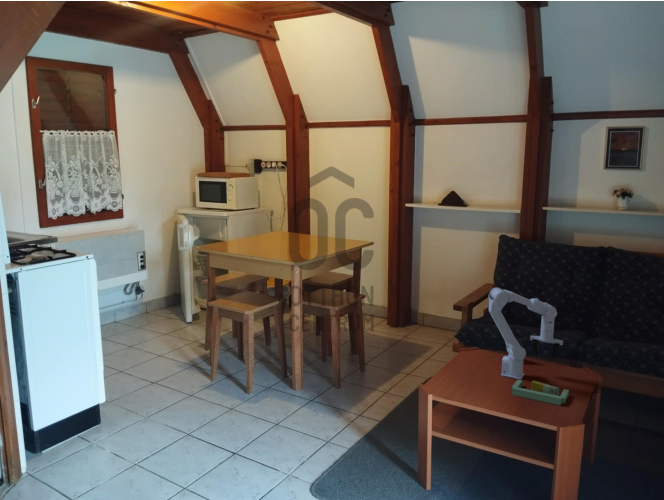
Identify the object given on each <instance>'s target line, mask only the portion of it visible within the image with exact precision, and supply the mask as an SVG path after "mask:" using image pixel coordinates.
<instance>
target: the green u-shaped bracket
mask: <svg viewBox="0 0 664 500" xmlns="http://www.w3.org/2000/svg"><path fill="white" fill-rule="evenodd" d="M522 386H523V380H522V379H517V380H515V382H514V384H513V385H512V386H511V393H512V396H515V397H519V398H520V397H521V398H525V399H529V400H533V401H538V402H542V403H548V404H552V405H553V404H554V405H557V406H562V405H565V403H566V401H567V400H568V397H569V395H570V394H569V393H570V392H569V391H570V389H565V388H564V389H563V390H562V391H561V394H560V395H559V396H556V395H552V394H547V393H542V392H537V391H534V390H531V389H527V388H524V387H522Z"/></svg>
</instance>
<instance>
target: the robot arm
mask: <svg viewBox="0 0 664 500" xmlns="http://www.w3.org/2000/svg"><path fill="white" fill-rule="evenodd" d="M487 296H488V312H489V314H490V316H491V318H492V320H493V321H494V323H495V325H496V327H497V329H498V331H499V332H500V334H501V336H502V338H503V340H504V344H505V346H506V351H507V353H508V355H504V356H503V358H502V361H501V374H500V375H501V376H502V377H507V378H512V379H517V380H522V379H523V377H524V376H525V375H526V374H525V373H523V372H524V359H525V357H526V355H527V351H526V349H525V348H524V347H523V346H522V347H521V346H520V344H519V343H518V341H517V340H516V337H515V335H514V333H513V331H512V329H511V328H510V326H509V324H508V322H507V320H506V318H505V316H504V314H503V313H502V309H503V308H504V307H505V305H506V304H507V303H511V302H515V303H519V304H521V305H524V306H526V307H527V309H528V311H529V310H530V311H531V312H534V313H536V314H539V315H541V323H540V335H531V334H530V337H529V341H531V344H532V346H533V348H534V352H535V356H536V357H538V355H539V344H540V342H541V343H548V344H553V349H552V352H553V353H552V360H555V358H556V354H557V352H558V350H559V348H560V347H561V346H563V343H564V340H561V339H558V338H554V330H555V318H556V317H557V315H558V312H557V309H556V307H554V306H552V305H551V304H549V303H548V302H543V301H541V300H540V299H539V298H537V297H536V298H530V299H529V298H526V297H524V296H521V295H519V294H517V293H516V292H513V291H510V290H507V289H504V288H500V287H493V288H492V289H491V290H490V291H489V293H488V295H487Z"/></svg>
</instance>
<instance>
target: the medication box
mask: <svg viewBox="0 0 664 500" xmlns="http://www.w3.org/2000/svg"><path fill="white" fill-rule="evenodd" d="M530 390H533V391H537V392H542V393H547V394H552V395H556V396H560V395H559V392H560V387H558V386H554V385H551V384H548V383H544V382H540V381H536V380H532V381H531V385H530Z"/></svg>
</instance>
